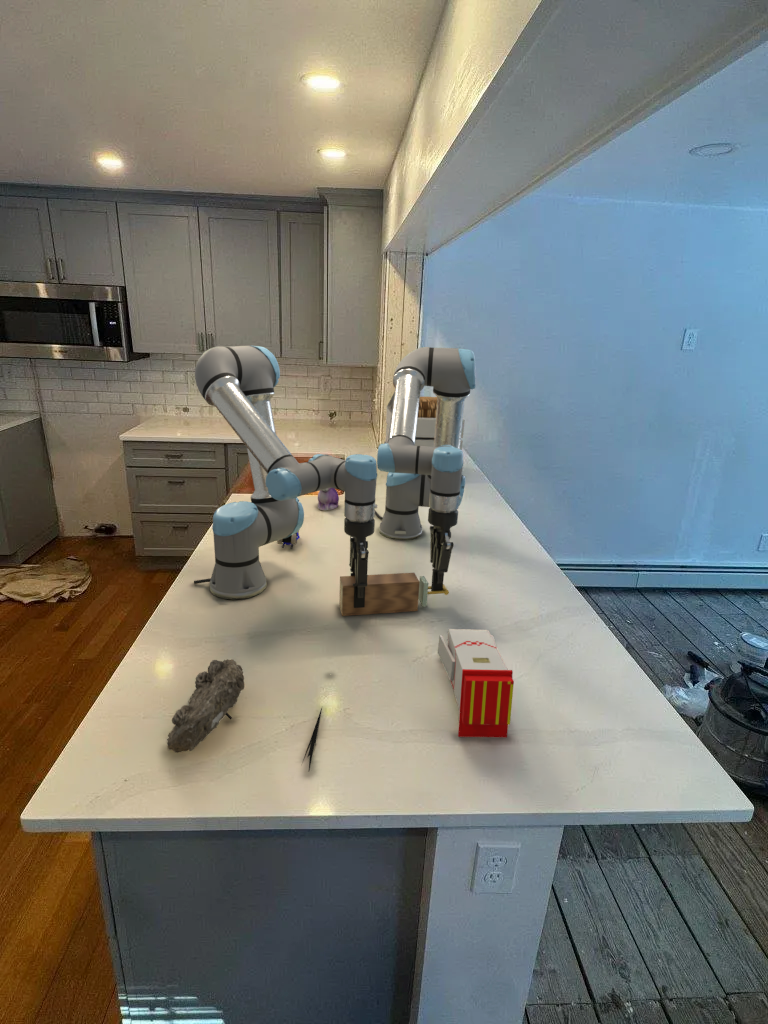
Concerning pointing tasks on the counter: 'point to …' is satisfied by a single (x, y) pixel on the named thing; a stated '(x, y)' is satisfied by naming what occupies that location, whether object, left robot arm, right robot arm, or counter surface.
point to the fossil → (206, 705)
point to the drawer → (424, 591)
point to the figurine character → (289, 540)
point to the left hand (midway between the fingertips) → (357, 600)
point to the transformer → (422, 421)
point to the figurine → (328, 499)
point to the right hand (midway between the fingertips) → (436, 591)
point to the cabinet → (381, 594)
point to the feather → (313, 740)
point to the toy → (478, 682)
